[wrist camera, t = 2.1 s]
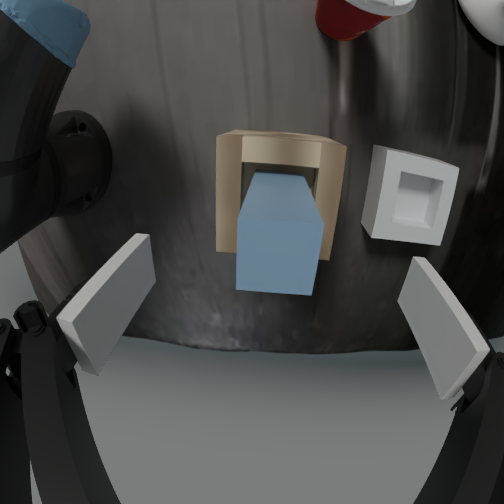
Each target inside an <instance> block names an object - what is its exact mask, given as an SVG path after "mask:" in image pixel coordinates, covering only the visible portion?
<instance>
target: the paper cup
mask: <svg viewBox="0 0 504 504" xmlns="http://www.w3.org/2000/svg"><path fill="white" fill-rule="evenodd" d="M415 3H416V0H318V1H317V7H316V13H315V20H316V23H317V26H318V27H319V29H320V30H321V31H322V32H323V33H324V34H325V35H327V36H328V37H330V38H332V39H335V40H340V41H348V40H352V39H354V38H356V37H358V36H360V35H362V34H363V33H365V32H367V31H368V30H370V29H371V28H373V27H375V26H376V25H378V24H380V23H381V22H383V21H385V20H386V19H388V18H390V17H392V16H398V15H402V14H405V13H407V12H408V11H410V10H411V9H412V8H413V7H414V5H415Z"/></svg>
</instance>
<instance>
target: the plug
mask: <svg viewBox="0 0 504 504" xmlns="http://www.w3.org/2000/svg"><path fill="white" fill-rule="evenodd" d="M323 230H324V223H323V221H322V218H321V216H320V213H319V211H318V208H317V206H316V203H315V201H314V198H313V196H312V194H311V191H310V189H309V187H308V184H307V182H306V180H305V177H304V175H303V173H300V172H290V171H278V170H264V169H256V171H255V173H254V176H253V179H252V181H251V184H250V186H249V189H248V192H247V194H246V197H245V200H244V202H243V205H242V207H241V210H240V213H239V215H238V220H237V264H236V289H237V290H248V291H260V292H272V293H285V294H299V295H312V291H313V286H314V281H315V275H316V270H317V265H318V259H319V254H320V248H321V242H322V236H323Z"/></svg>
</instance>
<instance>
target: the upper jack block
mask: <svg viewBox="0 0 504 504" xmlns="http://www.w3.org/2000/svg"><path fill="white" fill-rule="evenodd" d="M346 149H347V146H344V145H342V144H340V143H338V142H336V141H333V140H331V139H329V138H327V137H324V136H316V135H307V134H298V133H287V132H274V131H258V130H233V131H230V132H227V133H224V134H221V135H218V136H217V144H216V251H219V252H231V253H237V220H238V215H239V213H240V210H241V207H242V205H243V202H244V200H245V197H246V194H247V192H248V189H249V186H250V184H251V181H252V179H253V176H254V173H255V171H256V169H264V170H278V171H290V172H300V173H303V175H304V177H305V180H306V182H307V184H308V187H309V189H310V191H311V194H312V196H313V198H314V201H315V203H316V206H317V208H318V211H319V213H320V216H321V218H322V221H323V223H324V230H323V236H322V242H321V248H320V254H319V259H318V260H329V258H330V253H331V247H332V242H333V237H334V231H335V225H336V220H337V214H338V207H339V201H340V195H341V188H342V181H343V173H344V165H345V157H346Z"/></svg>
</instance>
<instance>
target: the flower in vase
mask: <svg viewBox="0 0 504 504" xmlns="http://www.w3.org/2000/svg"><path fill="white" fill-rule="evenodd" d="M458 1H459V4H460V6H461V8H462V10H463V12H464V13H465V15H466V17H467V18H468V20H469V21H470V22H471V24H472V25H473V26H474V27H475V28H476V29H477V30H478V32H480V33H481V34H482V35H483V36H484V37H485V38H487V39H488V40H490V41H491V42H493V43H495V44H497V45H501V46H504V0H458Z"/></svg>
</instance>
